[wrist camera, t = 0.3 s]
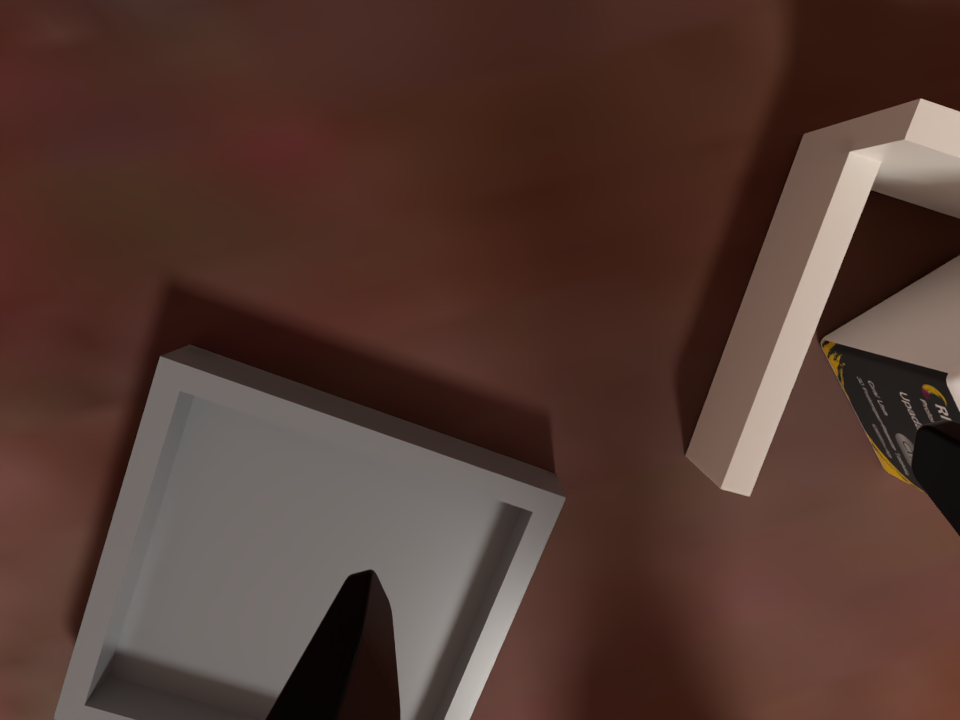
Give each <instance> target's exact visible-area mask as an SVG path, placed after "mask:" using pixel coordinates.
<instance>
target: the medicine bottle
mask: <svg viewBox="0 0 960 720" xmlns="http://www.w3.org/2000/svg"><path fill="white" fill-rule="evenodd" d="M820 344H821V348H822V350H823V352H824V354H825V356H826V358H827V359H828V361H829V363H830V365H831V367H832V369H833V371H834V373H835V375H836V377H837V379H838V381H839V383H840V385H841V387H842V389H843V390H844V392H845V394H846V396H847V398H848V400H849V402H850V404H851V406H852V408H853V410H854V412H855V414H856V416H857V418H858V420H859V422H860V423H861V425H862V427H863V429H864V431H865V433H866V435H867V437H868V439H869V441H870V443H871V445H872V447H873V449H874V451H875V453H876V455H877V456H878V458H879V460H880V462H881V464H882V466H883V468H884V469H885V470H886V471H887V472H888V473H890V474H892V475H893V476H895V477H897V478H899V479H901V480H903V481H905V482H907V483H908V484H910V485H912V486H914V487H916V488H918V489H920V490H922V491H923V492H925V491H924V489H923V488H922V487H921V485H920V484H919V483H918V481H917V480H916V478H915V477H914V475H913V472H912V468H911V460H912V454H913V448H914V442H915V436H916V432H917V430H918V428H919V427H920V426H922V425H925V424H929V423H933V422H937V421H940V420H951V421H955V422H958V423H960V255H959V256H957V257H955V258H954V259H952V260H950V261H949V262H947V263H945V264H944V265H942V266H941V267H939V268H937V269H936V270H934V271H932V272H931V273H929V274H927V275H926V276H924V277H922V278H921V279H919V280H917V281H916V282H914V283H912V284H911V285H909V286H907V287H906V288H904V289H902V290H901V291H899V292H898V293H896V294H894V295H893V296H891V297H889V298H888V299H886V300H884V301H883V302H881V303H879V304H878V305H876V306H874V307H873V308H871V309H869V310H868V311H866V312H864V313H863V314H861V315H859V316H858V317H856V318H855V319H853V320H851V321H850V322H848V323H846V324H845V325H843V326H841V327H840V328H838V329H836V330H835V331H833V332H831V333H830V334H828V335H826V336H825V337H824V338H823V339H822V340H821V343H820ZM925 493H926V492H925Z"/></svg>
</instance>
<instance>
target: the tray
mask: <svg viewBox="0 0 960 720" xmlns="http://www.w3.org/2000/svg"><path fill="white" fill-rule="evenodd" d="M565 499H566V496H565V494H564V492H563V489H562V487H561V485H560V483H559V480H558V478H557V476H556V473H553V472H550V471H547V470H545V469H542V468H539V467H536V466H533V465H530V464H528V463H525V462H522V461H519V460H516V459H513V458H511V457H508V456H505V455H502V454H499V453H496V452H494V451H491V450H488V449H485V448H482V447H479V446H477V445H474V444H471V443H468V442H465V441H462V440H460V439H457V438H454V437H451V436H448V435H445V434H443V433H440V432H437V431H434V430H431V429H428V428H426V427H423V426H420V425H417V424H414V423H411V422H409V421H406V420H403V419H400V418H397V417H394V416H392V415H389V414H386V413H383V412H380V411H377V410H375V409H372V408H369V407H366V406H363V405H360V404H358V403H355V402H352V401H349V400H346V399H343V398H340V397H338V396H335V395H332V394H329V393H326V392H323V391H321V390H318V389H315V388H312V387H309V386H306V385H304V384H301V383H298V382H295V381H292V380H289V379H287V378H284V377H281V376H278V375H275V374H272V373H270V372H267V371H264V370H261V369H258V368H255V367H253V366H250V365H247V364H244V363H241V362H238V361H236V360H233V359H230V358H227V357H224V356H221V355H219V354H216V353H213V352H210V351H207V350H204V349H202V348H199V347H196V346H193V345H187V346H185V347H182V348H179V349H177V350H174V351H172V352H169V353H167V354H164V355H162V356H160V358H159V361H158V365H157V368H156V372H155V375H154V378H153V382H152V385H151V389H150V392H149V395H148V399H147V402H146V406H145V409H144V412H143V416H142V419H141V423H140V426H139V429H138V433H137V436H136V440H135V443H134V446H133V450H132V453H131V457H130V460H129V463H128V467H127V470H126V474H125V477H124V480H123V484H122V487H121V491H120V494H119V497H118V501H117V504H116V508H115V511H114V515H113V518H112V521H111V525H110V528H109V532H108V535H107V538H106V542H105V545H104V549H103V552H102V555H101V559H100V562H99V566H98V569H97V572H96V576H95V579H94V583H93V586H92V589H91V593H90V596H89V600H88V603H87V606H86V610H85V613H84V617H83V620H82V623H81V627H80V630H79V634H78V637H77V640H76V644H75V647H74V651H73V654H72V657H71V661H70V664H69V668H68V671H67V674H66V678H65V681H64V685H63V688H62V691H61V695H60V698H59V702H58V705H57V708H56V712H55V715H54V719H56V720H265V719H266V717H267V715H268V713H269V712H270V710H271V708H272V706H273V705H274V703H275V701H276V700H277V698H278V696H279V694H280V693H281V691H282V689H283V687H284V686H285V684H286V682H287V680H288V679H289V677H290V675H291V673H292V672H293V670H294V668H295V666H296V665H297V663H298V661H299V660H300V658H301V656H302V654H303V653H304V651H305V649H306V647H307V646H308V644H309V642H310V640H311V639H312V637H313V635H314V633H315V632H316V630H317V628H318V627H319V625H320V623H321V621H322V620H323V618H324V616H325V614H326V613H327V611H328V609H329V607H330V606H331V604H332V602H333V600H334V599H335V597H336V595H337V593H338V592H339V590H340V588H341V587H342V585H343V583H344V581H345V580H346V578H347V577H348V576H349V575H351V574H353V573H357V572H361V571H365V570H369V569H371V570H374V571H375V572H376V574H377V576H378V578H379V580H380V582H381V584H382V587H383V589H384V591H385V593H386V595H387V597H388V600H389V602H390V605H391V609H392V616H393V627H394V638H395V649H396V661H397V672H398V683H399V695H400V709H401V720H469V719H470V717H471V715H472V713H473V710H474V708H475V706H476V703H477V701H478V699H479V697H480V694H481V692H482V690H483V687H484V685H485V683H486V680H487V678H488V676H489V674H490V671H491V669H492V667H493V664H494V662H495V660H496V658H497V655H498V653H499V651H500V648H501V646H502V644H503V641H504V639H505V637H506V635H507V632H508V630H509V628H510V625H511V623H512V621H513V619H514V616H515V614H516V612H517V609H518V607H519V605H520V603H521V600H522V598H523V596H524V593H525V591H526V589H527V586H528V584H529V582H530V580H531V577H532V575H533V573H534V570H535V568H536V566H537V564H538V561H539V559H540V557H541V554H542V552H543V550H544V547H545V545H546V543H547V541H548V538H549V536H550V534H551V531H552V529H553V527H554V525H555V522H556V520H557V518H558V515H559V513H560V511H561V509H562V506H563V504H564V502H565Z"/></svg>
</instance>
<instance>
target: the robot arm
mask: <svg viewBox="0 0 960 720" xmlns="http://www.w3.org/2000/svg"><path fill="white" fill-rule="evenodd" d="M911 468H912V472H913V475H914V477H915V478H916V480H917V481H918V483H919V484H920V485H921V487H922V488H923V489H924V491H925V492H926V493H927V494H928V496H929V497H930V498H931V500H932V501H933V502H934V503H935V505H936V506H937V507H938V509H939V510H940V511H941V513H942V514H943V515H944V516H945V518H946V519H947V520H948V522H949V523H950V524H951V525H952V527H953V528H954V529H955V531H956V532H957V533H958V535H959V536H960V423H958V422H955V421H951V420H940V421H937V422H933V423H929V424H925V425H922V426H920V427H919V428H918V430H917V432H916V436H915V442H914V448H913V454H912V460H911ZM265 720H401V709H400V695H399V683H398V672H397V661H396V649H395V638H394V627H393V616H392V609H391V605H390V602H389V600H388V597H387V595H386V593H385V591H384V589H383V587H382V584H381V582H380V580H379V578H378V576H377V574H376V572H375V571H374V570H371V569H369V570H365V571H361V572H357V573H353V574H351V575H349V576H348V577H347V578H346V580H345V581H344V583H343V585H342V587H341V588H340V590H339V592H338V593H337V595H336V597H335V599H334V600H333V602H332V604H331V606H330V607H329V609H328V611H327V613H326V614H325V616H324V618H323V620H322V621H321V623H320V625H319V627H318V628H317V630H316V632H315V633H314V635H313V637H312V639H311V640H310V642H309V644H308V646H307V647H306V649H305V651H304V653H303V654H302V656H301V658H300V660H299V661H298V663H297V665H296V666H295V668H294V670H293V672H292V673H291V675H290V677H289V679H288V680H287V682H286V684H285V686H284V687H283V689H282V691H281V693H280V694H279V696H278V698H277V700H276V701H275V703H274V705H273V706H272V708H271V710H270V712H269V713H268V715H267V717H266V719H265Z"/></svg>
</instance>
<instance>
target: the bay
mask: <svg viewBox="0 0 960 720" xmlns="http://www.w3.org/2000/svg"><path fill="white" fill-rule="evenodd" d="M870 190H872V191H875V192H879V193H882V194H885V195H888V196H891V197H894V198H897V199H900V200H903V201H906V202H909V203H913V204H916V205H919V206H922V207H925V208H928V209H931V210H934V211H937V212H940V213H943V214H946V215H950V216H953V217H956V218H959V219H960V112H959V111H956V110H953V109H950V108H947V107H944V106H941V105H939V104H936V103H933V102H930V101H927V100H924V99H921V98H920V99H917V100H914V101H910V102H907V103H904V104H901V105H897V106H894V107H891V108H887V109H884V110H881V111H878V112H874V113H871V114H868V115H864V116H861V117H858V118H854V119H851V120H848V121H845V122H841V123H838V124H835V125H831V126H828V127H825V128H822V129H818V130H815V131H812V132H808V133H805V134H803V137H802V140H801V143H800V145H799V148H798V151H797V153H796V156H795V159H794V162H793V164H792V167H791V170H790V172H789V175H788V178H787V181H786V183H785V186H784V189H783V191H782V194H781V197H780V200H779V202H778V205H777V208H776V210H775V213H774V216H773V219H772V221H771V224H770V227H769V229H768V232H767V235H766V238H765V240H764V243H763V246H762V249H761V251H760V254H759V257H758V259H757V262H756V265H755V268H754V270H753V273H752V276H751V278H750V281H749V284H748V287H747V289H746V292H745V295H744V297H743V300H742V303H741V306H740V308H739V311H738V314H737V316H736V319H735V322H734V325H733V327H732V330H731V333H730V335H729V338H728V341H727V344H726V346H725V349H724V352H723V354H722V357H721V360H720V363H719V365H718V368H717V371H716V373H715V376H714V379H713V382H712V384H711V387H710V390H709V392H708V395H707V398H706V401H705V403H704V406H703V409H702V411H701V414H700V417H699V420H698V422H697V425H696V428H695V430H694V433H693V436H692V439H691V441H690V444H689V447H688V450H687V452H686V455H685V456H686V457H687V458H688V459H689V460H690V461H691V462H692V463H693V464H694V465H695V466H696V467H697V468H699V469H700V470H701V471H702V472H703V473H704V474H705V475H706V476H707V477H708V478H709V479H710V480H711V481H713V482H714V483H715V484H716V485H717V486H718V487H719V488H720V489H723V490H727V491H730V492H734V493H738V494H742V495H746V496H749V497H750V495H751V492H752V490H753V487H754V485H755V482H756V479H757V477H758V474H759V472H760V469H761V467H762V464H763V462H764V459H765V457H766V454H767V452H768V449H769V446H770V444H771V441H772V439H773V436H774V434H775V431H776V429H777V426H778V424H779V421H780V419H781V416H782V413H783V411H784V408H785V406H786V403H787V401H788V398H789V396H790V393H791V391H792V388H793V386H794V383H795V380H796V378H797V375H798V373H799V370H800V368H801V365H802V363H803V360H804V358H805V355H806V353H807V350H808V347H809V345H810V342H811V340H812V337H813V335H814V332H815V330H816V327H817V325H818V322H819V320H820V317H821V314H822V312H823V309H824V307H825V304H826V302H827V299H828V297H829V294H830V292H831V289H832V287H833V284H834V281H835V279H836V276H837V274H838V271H839V269H840V266H841V264H842V261H843V259H844V256H845V254H846V251H847V249H848V246H849V243H850V241H851V238H852V236H853V233H854V231H855V228H856V226H857V223H858V221H859V218H860V216H861V213H862V210H863V208H864V205H865V203H866V200H867V198H868V195H869V193H870Z"/></svg>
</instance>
